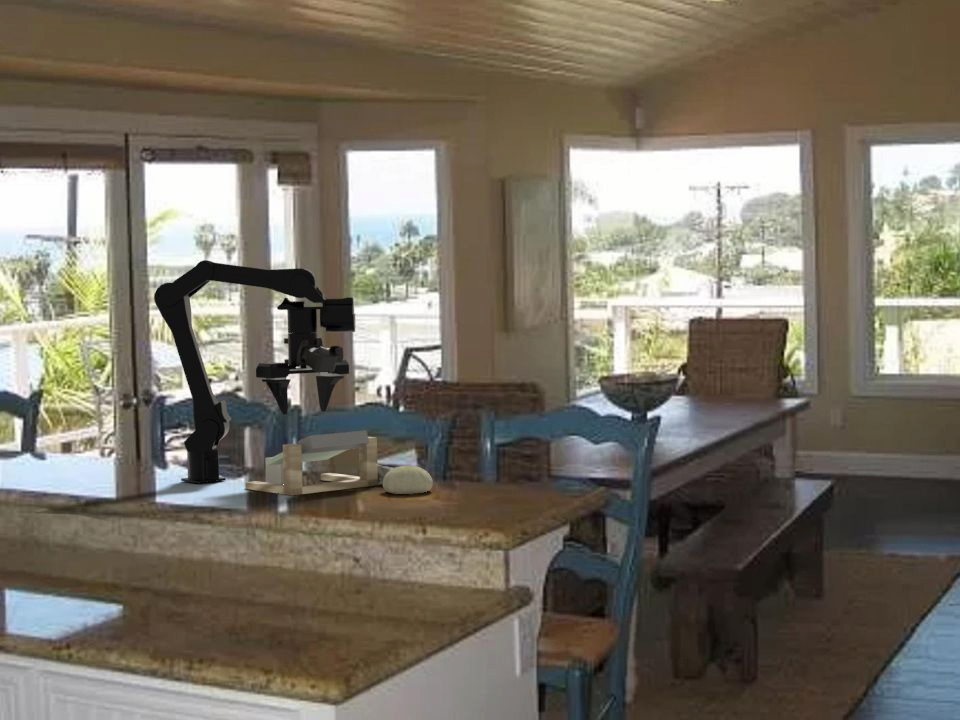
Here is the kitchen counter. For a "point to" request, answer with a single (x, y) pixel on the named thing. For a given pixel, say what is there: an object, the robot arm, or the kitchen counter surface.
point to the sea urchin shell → (407, 480)
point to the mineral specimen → (382, 473)
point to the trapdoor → (325, 446)
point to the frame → (338, 481)
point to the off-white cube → (274, 473)
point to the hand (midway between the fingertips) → (304, 413)
